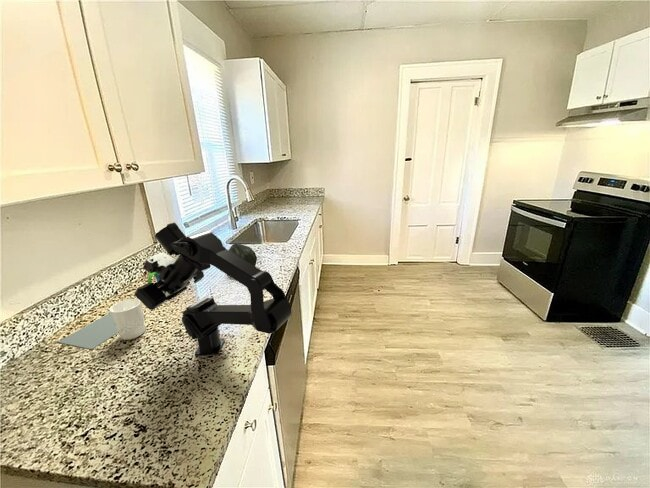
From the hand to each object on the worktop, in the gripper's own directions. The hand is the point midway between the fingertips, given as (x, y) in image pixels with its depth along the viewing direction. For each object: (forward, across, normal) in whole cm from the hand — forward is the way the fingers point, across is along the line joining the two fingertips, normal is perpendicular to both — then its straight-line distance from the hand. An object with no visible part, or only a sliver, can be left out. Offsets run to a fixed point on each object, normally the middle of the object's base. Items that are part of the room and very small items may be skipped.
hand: (160, 300), depth 79 cm
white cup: (+20, 0, 0) cm, 20 cm away
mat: (+28, 0, -9) cm, 29 cm away
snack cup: (+28, -28, -9) cm, 41 cm away
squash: (+14, -51, +5) cm, 53 cm away
